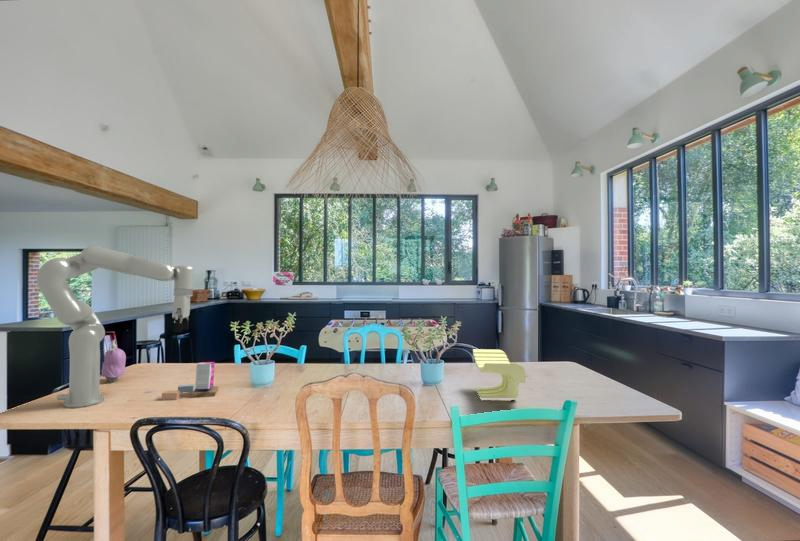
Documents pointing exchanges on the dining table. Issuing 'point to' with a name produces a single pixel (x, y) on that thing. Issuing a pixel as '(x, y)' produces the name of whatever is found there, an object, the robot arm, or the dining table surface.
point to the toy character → (113, 363)
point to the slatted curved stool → (501, 365)
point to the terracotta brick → (170, 395)
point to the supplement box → (204, 376)
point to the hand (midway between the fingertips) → (180, 330)
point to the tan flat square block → (204, 392)
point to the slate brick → (186, 388)
